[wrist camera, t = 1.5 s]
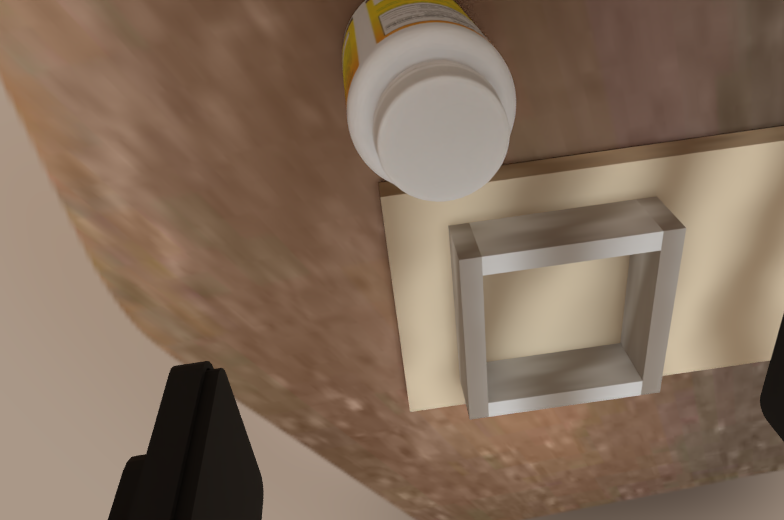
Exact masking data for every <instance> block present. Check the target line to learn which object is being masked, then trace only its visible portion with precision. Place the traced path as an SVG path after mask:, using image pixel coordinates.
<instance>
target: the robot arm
mask: <svg viewBox="0 0 784 520" xmlns="http://www.w3.org/2000/svg"><path fill="white" fill-rule="evenodd" d="M760 405H761V409H762V412H763V414H764V416H765V418H766V420H767V421H768V422H769V424H770V425H771V426H772V427H773V429H774V430H775V431H776V432H777V434H778V435H779V436H780V438H781V439H782V440H783V441H784V314H783V317H782V321H781V324H780V328H779V332H778V335H777V339H776V342H775V346H774V350H773V353H772V357H771V360H770V364H769V368H768V371H767V375H766V378H765V382H764V385H763V389H762V393H761V397H760ZM262 506H263V482H262V477H261V473H260V470H259V468H258V465H257V462H256V459H255V456H254V453H253V450H252V447H251V444H250V442H249V439H248V436H247V433H246V430H245V427H244V424H243V421H242V418H241V415H240V413H239V409H238V407H237V404H236V401H235V398H234V395H233V392H232V389H231V386H230V383H229V381H228V378H227V375H226V372H225V370H224V369H223V368H218V369H214V368H213V366H212V364H211V363H210V362H209V361H204V362H198V363H191V364H184V365H178V366H174V367H172V368H171V370H170V373H169V376H168V380H167V383H166V386H165V390H164V393H163V397H162V401H161V404H160V408H159V411H158V415H157V418H156V422H155V425H154V429H153V432H152V436H151V440H150V443H149V446H148V450H147V454H145V455H139V456H134V457H131V458H130V459H129V460H128V462H127V463H126V466H125V468H124V470H123V473H122V476H121V479H120V483H119V486H118V489H117V492H116V495H115V499H114V502H113V505H112V508H111V511H110V514H109V518H108V520H261V519H262V508H263V507H262Z"/></svg>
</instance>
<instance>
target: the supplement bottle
mask: <svg viewBox="0 0 784 520" xmlns="http://www.w3.org/2000/svg"><path fill="white" fill-rule="evenodd" d="M342 67H343V77H344V89H345V99H346V112H347V122H348V128H349V132H350V135H351V139H352V142H353V144H354V146H355V148H356V150H357V152H358V153H359V155H360V156H361V158H362V159H363V161H364V162H365V163H366V164H367V165H368V166H369V167H370V168H371V169H372V170H373V171H374V172H375V173H376V174H377V175H379V176H380V177H382V178H383V179H385V180H387V181H388V182H390V183H392V184H394V185H396V186H397V187H398V188H399V189H401V190H402V191H403V192H405V193H407V194H408V195H410V196H413V197H415V198H418V199H422V200H426V201H435V202H444V201H451V200H456V199H459V198H462V197H465V196H467V195H470V194H472V193H473V192H475V191H477V190H478V189H480V188H481V187H483V186H484V185H485V184H486V183H488V182H489V181H490V180H491V178H492V177H493V176H494V175H495V174H496V172H497V171H498V170H499V168H500V166H501V165H502V163H503V161H504V158H505V156H506V153H507V150H508V146H509V139H510V134H511V131H512V128H513V124H514V120H515V114H516V92H515V86H514V82H513V79H512V75H511V73H510V71H509V69H508V67H507V65H506V63H505V61H504V59H503V58H502V56H501V55H500V53H499V52H498V51H497V49H496V48H495V47H494V46H493V45H492V44H491V43H490V42H489V40H488V39H487V38H486V37H485V36H484V34H483V33H482V32H481V31H480V30H479V28H478V27H477V26H476V25H475V24H474V23H473V22H472V20H471V19H470V18H469V17H468V16H467V15H466V14H465V12H464V11H463V10H462V9H461V7H460V6H459V5H458V4H457V3H456V2H455V1H454V0H365V1H364V2H363V3H362V4H361V5H360V6H359V7H358V9H357V10H356V11H355V13H354V14H353V16H352V17H351V19H350V21H349V23H348V26H347V28H346V31H345V34H344V39H343V45H342Z"/></svg>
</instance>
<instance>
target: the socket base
mask: <svg viewBox="0 0 784 520" xmlns="http://www.w3.org/2000/svg"><path fill="white" fill-rule="evenodd" d="M378 185H379V192H380V199H381V207H382V214H383V221H384V228H385V235H386V242H387V250H388V257H389V264H390V271H391V278H392V286H393V293H394V300H395V307H396V314H397V321H398V329H399V336H400V343H401V350H402V357H403V365H404V372H405V379H406V386H407V393H408V400H409V407H410V412H412V411H419V410H426V409H433V408H440V407H447V406H454V405H461V404H466V406H467V410H468V414H469V418H470V419H477V418H484V417H491V416H498V415H505V414H512V413H519V412H526V411H533V410H540V409H547V408H554V407H560V406H567V405H574V404H581V403H588V402H595V401H602V400H609V399H616V398H623V397H630V396H637V395H644V394H651V393H658V392H660V387H661V381H662V376H664V375H671V374H678V373H685V372H692V371H699V370H706V369H713V368H720V367H727V366H734V365H741V364H748V363H755V362H762V361H769V360H771V357H772V353H773V350H774V346H775V342H776V339H777V335H778V332H779V328H780V324H781V321H782V317H783V314H784V126H779V127H772V128H765V129H758V130H750V131H743V132H736V133H729V134H722V135H715V136H708V137H701V138H693V139H686V140H679V141H672V142H665V143H658V144H651V145H643V146H636V147H629V148H622V149H615V150H608V151H601V152H594V153H586V154H579V155H572V156H565V157H558V158H551V159H544V160H537V161H529V162H522V163H515V164H508V165H501V166H500V168H499V170H498V171H497V172H496V174H495V175H494V176H493V177H492V178H491V180H490V181H489V182H488V183H486V184H485V185H484V186H483V187H481V188H480V189H478V190H477V191H475V192H473V193H472V194H470V195H467V196H465V197H462V198H459V199H456V200H451V201H444V202H435V201H426V200H422V199H418V198H415V197H413V196H410V195H408V194H407V193H405V192H403V191H402V190H401V189H399V188H398V187H397V186H396V185H394V184H392V183H390V182H388V181H387V182H380V183H378Z"/></svg>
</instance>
